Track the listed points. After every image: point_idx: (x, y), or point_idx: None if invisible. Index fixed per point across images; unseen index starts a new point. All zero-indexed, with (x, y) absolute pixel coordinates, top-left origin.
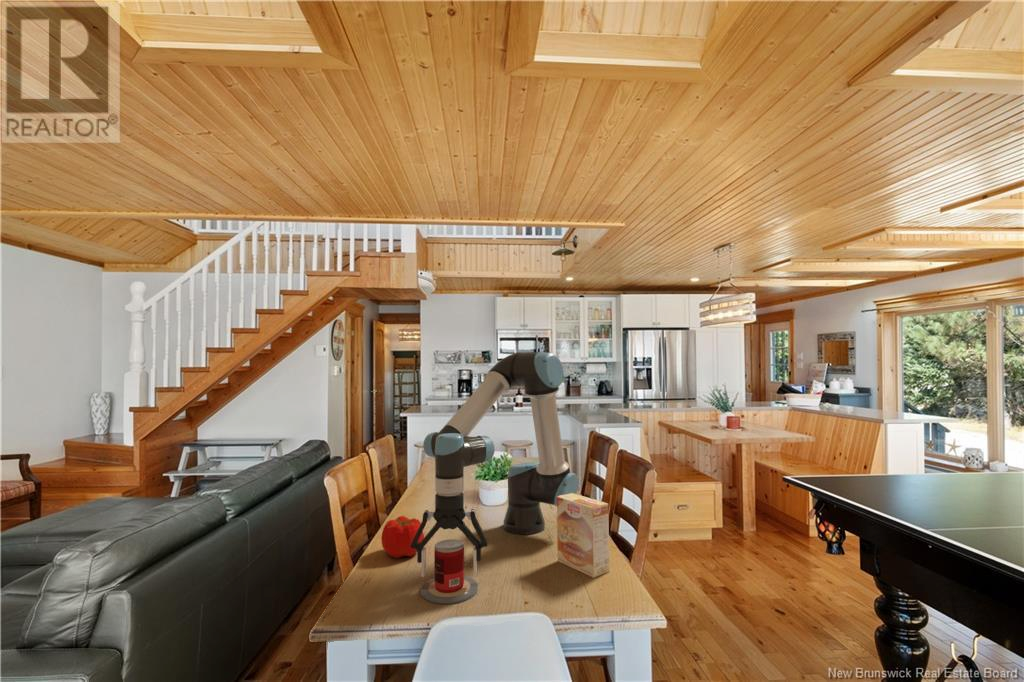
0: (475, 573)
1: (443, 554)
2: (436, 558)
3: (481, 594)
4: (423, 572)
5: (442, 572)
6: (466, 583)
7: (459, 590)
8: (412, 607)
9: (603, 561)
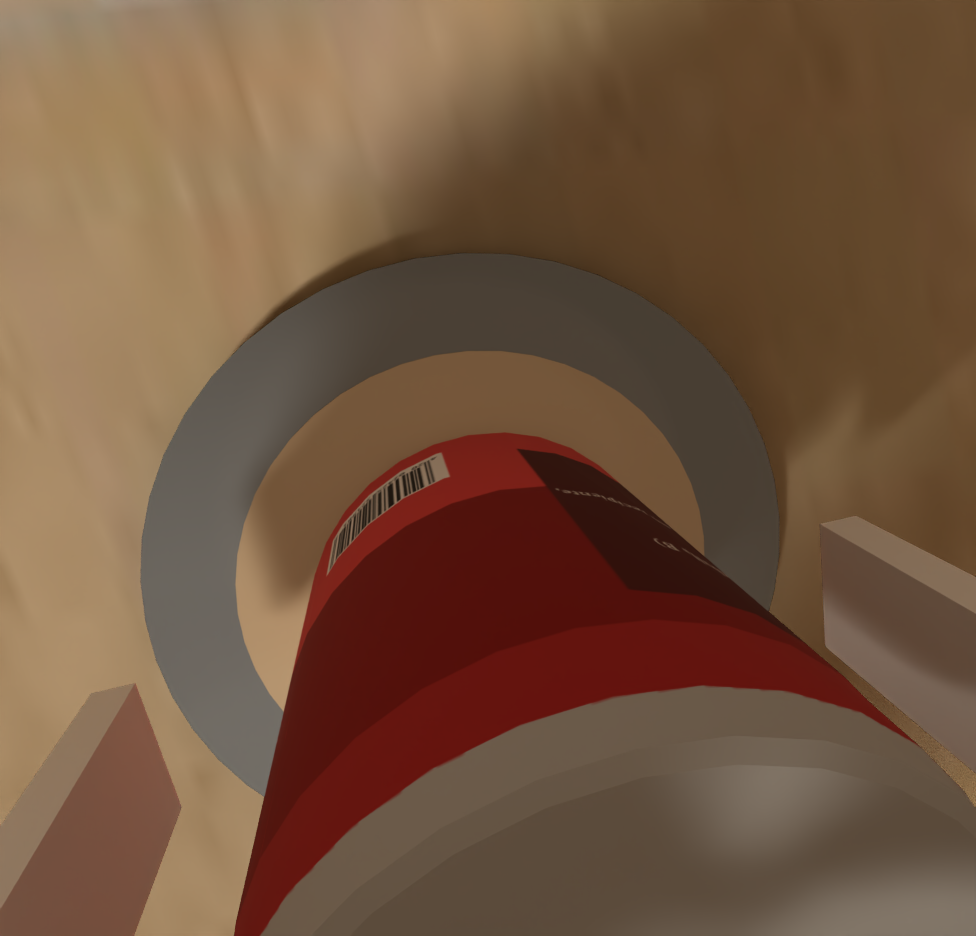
0: (93, 705)
1: (690, 652)
2: (807, 648)
3: (83, 546)
4: (867, 541)
5: (580, 499)
6: None
7: None
8: (770, 143)
9: None
